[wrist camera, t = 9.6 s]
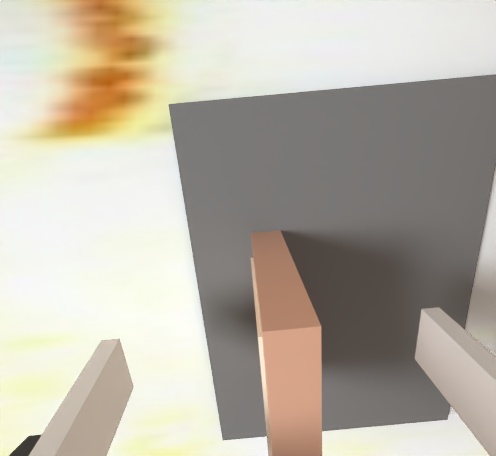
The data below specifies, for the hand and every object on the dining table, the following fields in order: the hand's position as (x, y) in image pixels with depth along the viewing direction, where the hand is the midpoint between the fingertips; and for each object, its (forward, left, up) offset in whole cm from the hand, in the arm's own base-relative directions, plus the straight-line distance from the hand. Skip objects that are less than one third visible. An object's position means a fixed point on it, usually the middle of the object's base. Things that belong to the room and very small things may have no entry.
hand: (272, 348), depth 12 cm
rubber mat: (0, +4, -5) cm, 6 cm away
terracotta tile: (+1, 0, -4) cm, 4 cm away
